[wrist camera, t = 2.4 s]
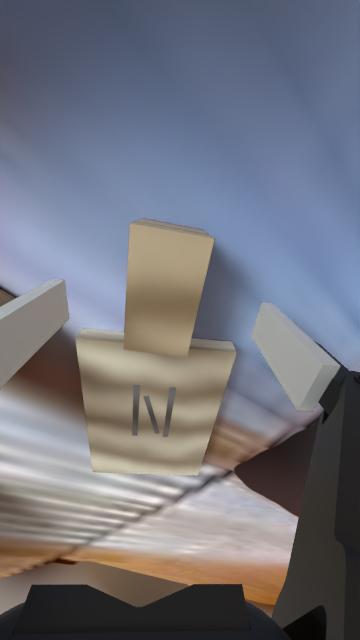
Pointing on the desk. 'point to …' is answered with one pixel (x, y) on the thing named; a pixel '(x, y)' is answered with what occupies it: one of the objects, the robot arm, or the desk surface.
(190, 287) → the block
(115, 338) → the board
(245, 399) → the desk surface
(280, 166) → the desk surface
